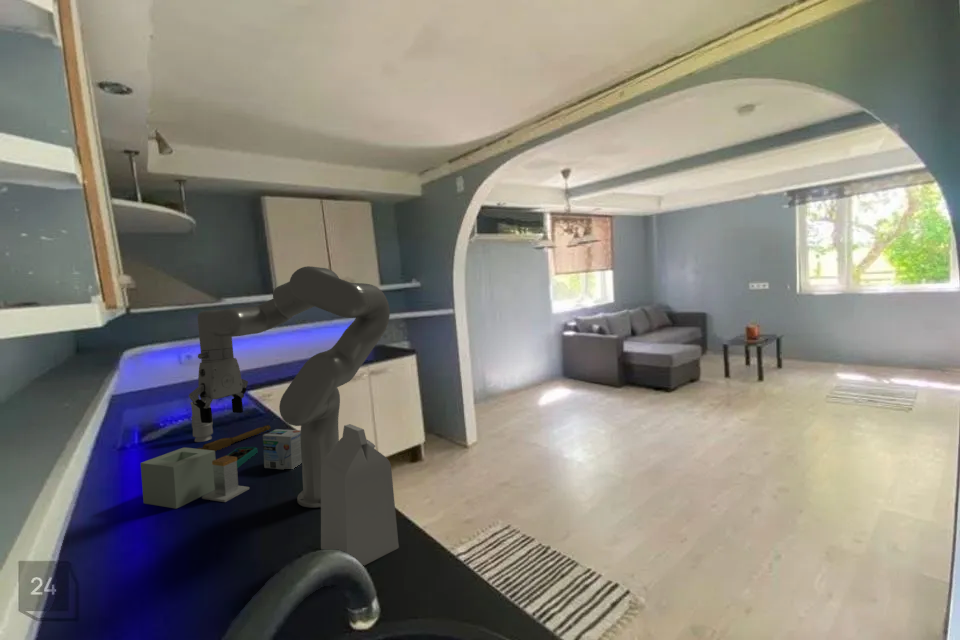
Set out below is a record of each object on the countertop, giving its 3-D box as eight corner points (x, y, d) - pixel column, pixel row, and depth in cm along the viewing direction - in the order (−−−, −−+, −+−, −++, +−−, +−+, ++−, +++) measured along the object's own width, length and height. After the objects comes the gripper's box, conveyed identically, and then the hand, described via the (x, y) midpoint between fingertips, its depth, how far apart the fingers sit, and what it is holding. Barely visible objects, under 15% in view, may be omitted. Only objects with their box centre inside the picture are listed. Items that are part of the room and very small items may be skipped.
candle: (217, 438, 169) (214, 400, 168) (198, 443, 163) (195, 404, 162) (208, 435, 173) (205, 398, 172) (189, 440, 167) (186, 402, 166)
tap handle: (271, 424, 176) (198, 449, 148) (271, 432, 176) (198, 458, 149) (265, 424, 177) (192, 448, 150) (266, 431, 177) (192, 457, 150)
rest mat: (249, 489, 122) (249, 486, 122) (224, 502, 114) (224, 499, 114) (227, 486, 124) (227, 484, 124) (202, 498, 117) (202, 496, 117)
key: (225, 495, 116) (223, 462, 116) (214, 493, 118) (212, 461, 117) (239, 489, 120) (237, 456, 120) (228, 487, 122) (225, 455, 121)
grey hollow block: (217, 488, 123) (215, 450, 122) (176, 508, 111) (173, 467, 111) (186, 484, 126) (183, 447, 126) (143, 503, 115) (140, 462, 114)
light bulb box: (263, 468, 137) (261, 435, 136) (278, 460, 143) (276, 428, 143) (292, 470, 134) (290, 436, 134) (306, 462, 141) (304, 429, 140)
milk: (320, 548, 91) (314, 428, 90) (369, 527, 99) (364, 416, 98) (348, 573, 83) (341, 440, 81) (398, 547, 91) (393, 426, 89)
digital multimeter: (259, 453, 151) (258, 445, 151) (236, 470, 137) (236, 461, 136) (237, 454, 151) (237, 446, 151) (213, 471, 136) (212, 462, 136)
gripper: (198, 360, 108) (204, 427, 108) (253, 350, 124) (258, 409, 125) (176, 360, 110) (182, 426, 111) (233, 351, 126) (238, 408, 127)
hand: (223, 417), depth 118 cm, fingers open, 9 cm apart
